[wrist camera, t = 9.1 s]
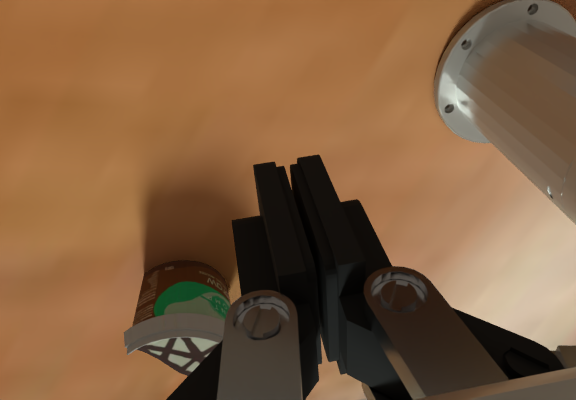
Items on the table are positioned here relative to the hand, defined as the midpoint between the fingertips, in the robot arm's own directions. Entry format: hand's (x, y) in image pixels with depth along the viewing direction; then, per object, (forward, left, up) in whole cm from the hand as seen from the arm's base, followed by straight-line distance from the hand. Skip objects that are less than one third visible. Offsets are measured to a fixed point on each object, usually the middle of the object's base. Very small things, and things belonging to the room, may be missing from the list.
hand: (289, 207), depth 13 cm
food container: (-12, +26, -27) cm, 40 cm away
